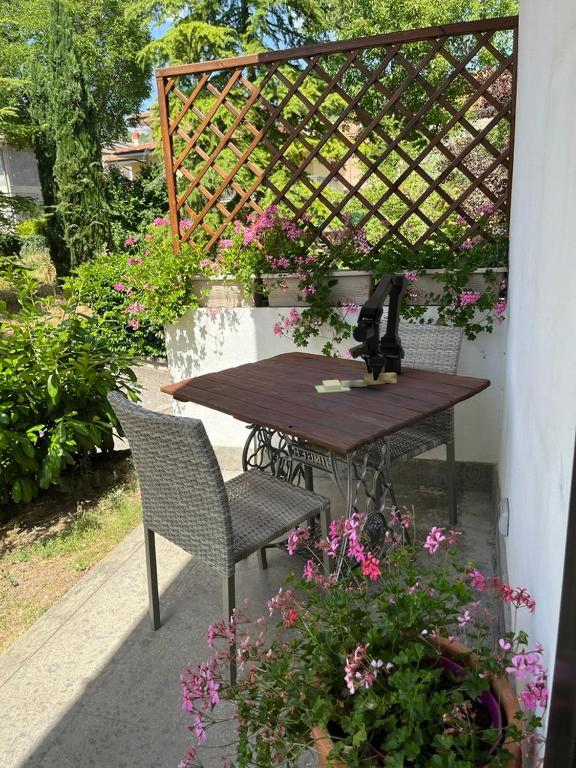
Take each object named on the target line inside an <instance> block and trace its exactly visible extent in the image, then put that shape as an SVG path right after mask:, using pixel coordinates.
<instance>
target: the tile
mask: <svg viewBox="0 0 576 768" xmlns="http://www.w3.org/2000/svg"><path fill="white" fill-rule="evenodd" d="M322 385H323V387H324V388H325V390H338V389H342V385H341V383H340V381H339V379H331V380H329V379H328V380H327V379H326V380H322V384H321V386H322Z"/></svg>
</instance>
